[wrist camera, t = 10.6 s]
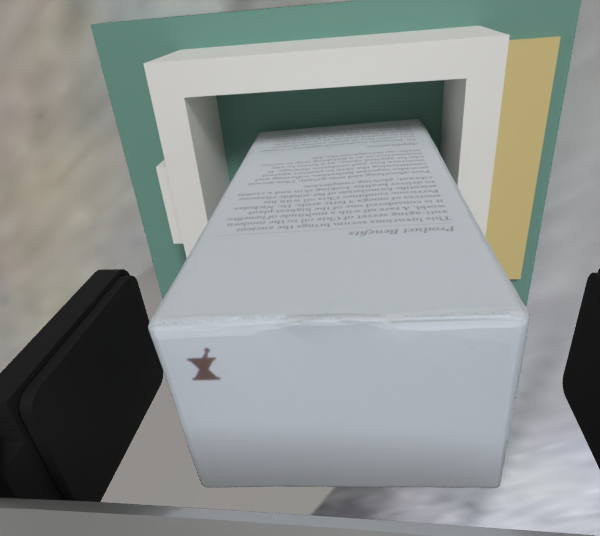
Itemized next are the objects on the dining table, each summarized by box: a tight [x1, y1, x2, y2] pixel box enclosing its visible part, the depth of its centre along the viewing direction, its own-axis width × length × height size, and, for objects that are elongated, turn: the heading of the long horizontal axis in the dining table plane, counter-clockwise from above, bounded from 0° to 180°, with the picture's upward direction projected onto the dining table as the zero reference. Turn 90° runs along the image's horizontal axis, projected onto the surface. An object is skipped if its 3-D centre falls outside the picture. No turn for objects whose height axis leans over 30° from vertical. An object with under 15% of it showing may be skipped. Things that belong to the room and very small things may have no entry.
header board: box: [91, 0, 581, 307], centre depth 18 cm, size 16×12×4 cm
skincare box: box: [148, 119, 530, 488], centre depth 14 cm, size 6×4×12 cm
